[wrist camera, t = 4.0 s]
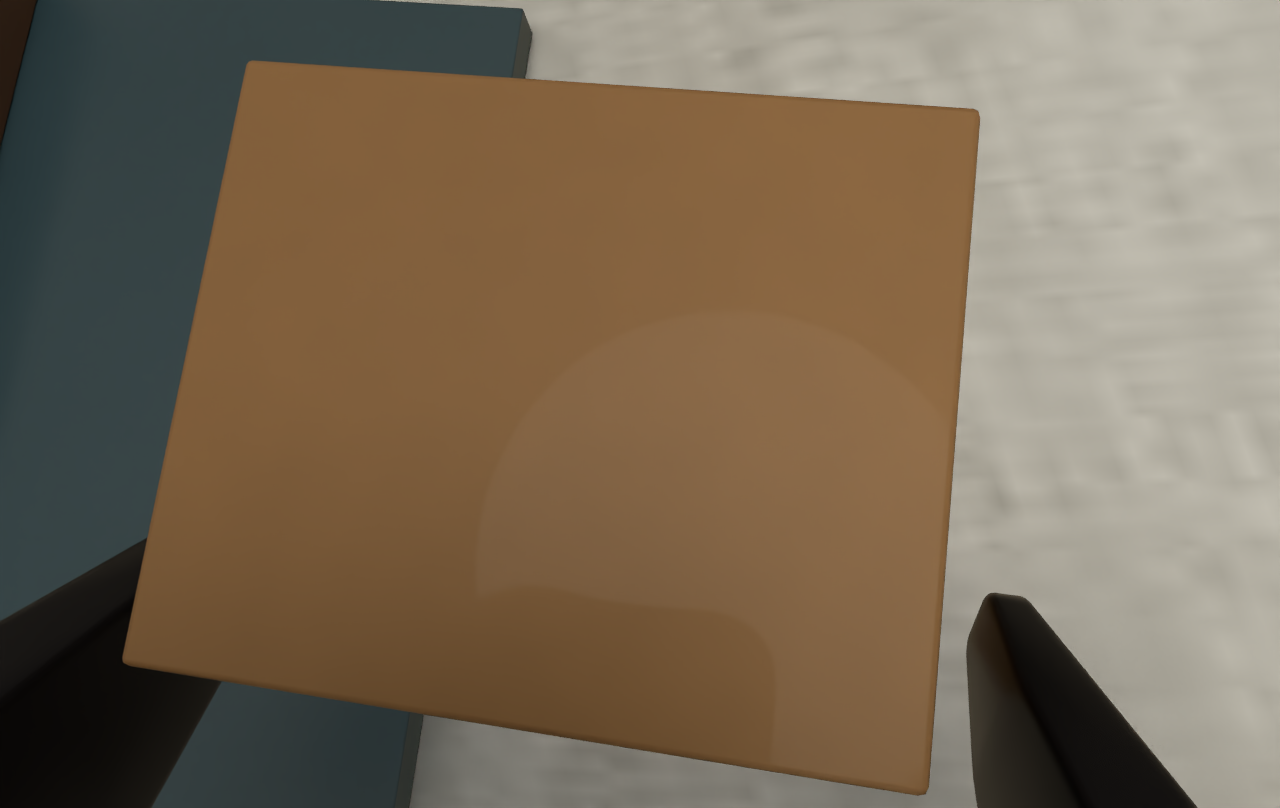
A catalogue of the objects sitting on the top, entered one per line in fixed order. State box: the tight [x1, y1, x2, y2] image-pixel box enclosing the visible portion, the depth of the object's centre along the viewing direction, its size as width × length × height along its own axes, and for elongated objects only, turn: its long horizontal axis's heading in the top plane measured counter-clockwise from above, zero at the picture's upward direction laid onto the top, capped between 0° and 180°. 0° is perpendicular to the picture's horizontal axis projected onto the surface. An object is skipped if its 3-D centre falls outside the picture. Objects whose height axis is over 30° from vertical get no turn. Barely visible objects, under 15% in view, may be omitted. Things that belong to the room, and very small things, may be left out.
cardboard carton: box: [122, 60, 980, 796], centre depth 13 cm, size 5×6×13 cm
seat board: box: [0, 0, 532, 808], centre depth 19 cm, size 20×14×3 cm
